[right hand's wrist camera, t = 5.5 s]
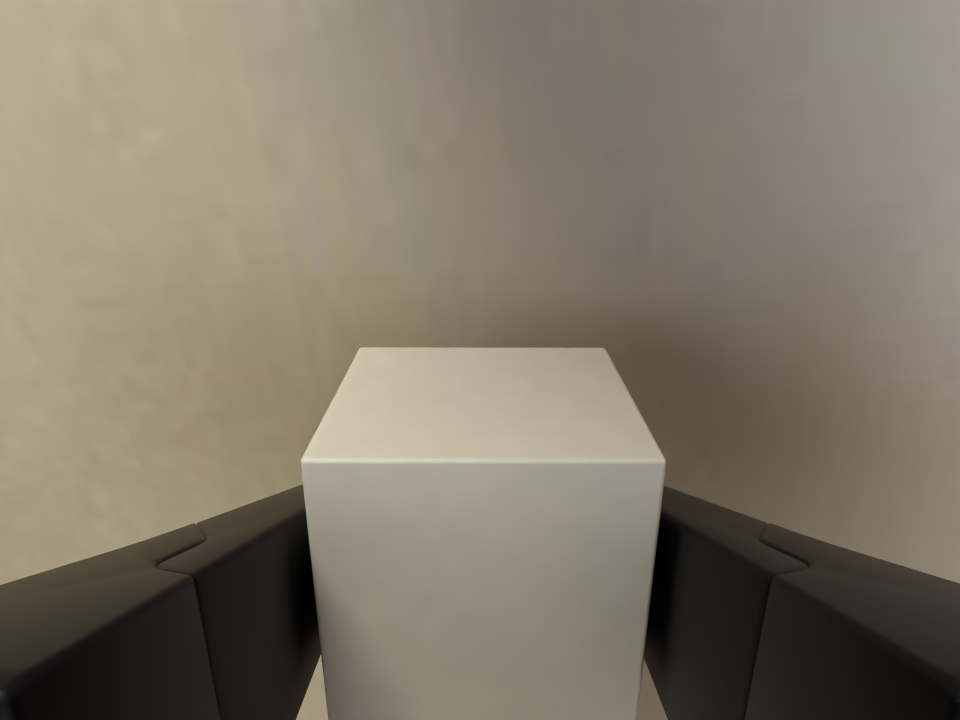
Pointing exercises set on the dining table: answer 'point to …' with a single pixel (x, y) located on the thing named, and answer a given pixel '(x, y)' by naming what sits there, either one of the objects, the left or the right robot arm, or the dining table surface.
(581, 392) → the block
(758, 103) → the dining table surface
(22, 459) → the dining table surface
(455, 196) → the dining table surface
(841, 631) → the right robot arm
